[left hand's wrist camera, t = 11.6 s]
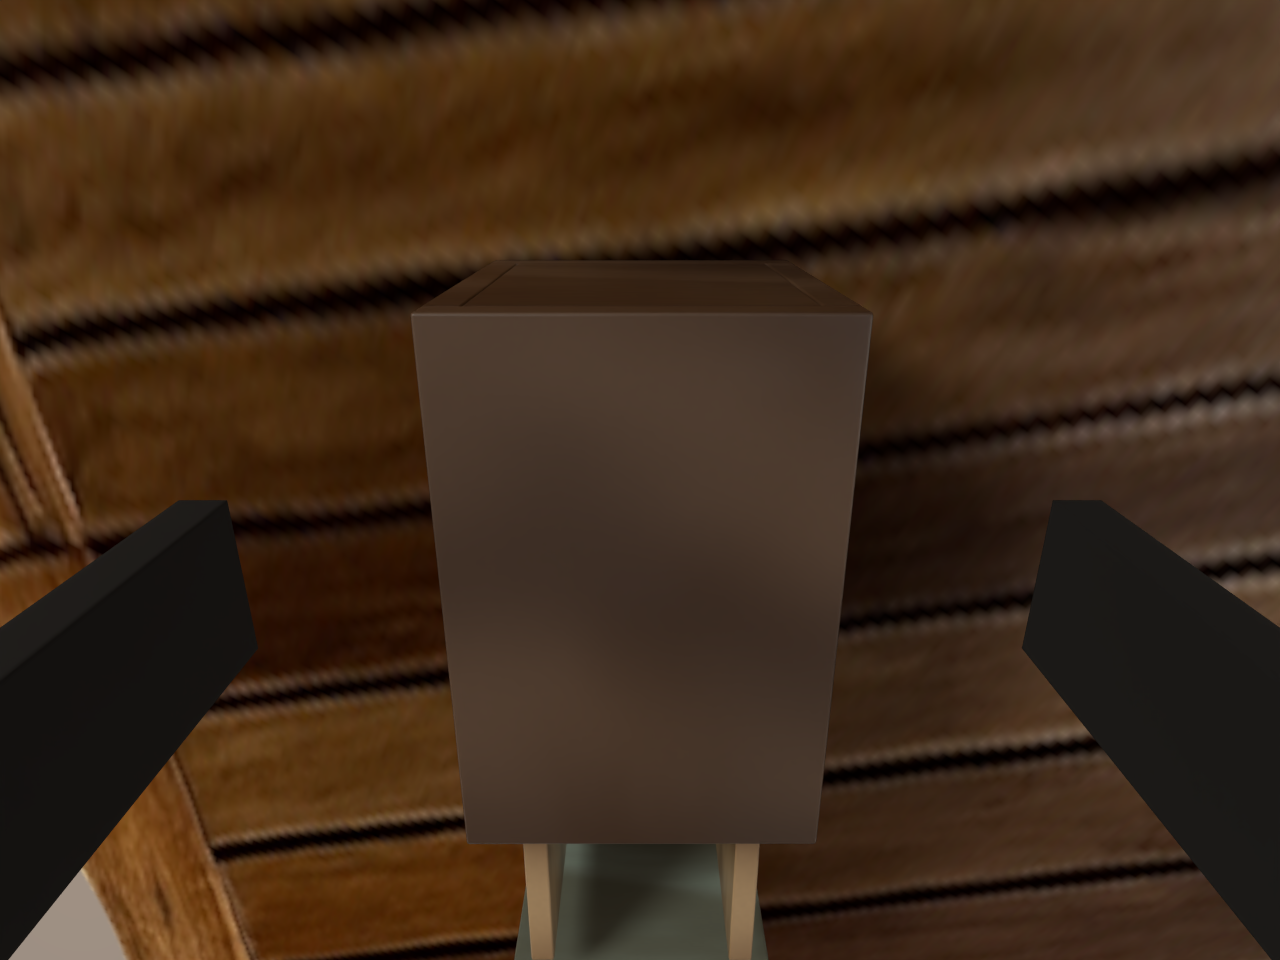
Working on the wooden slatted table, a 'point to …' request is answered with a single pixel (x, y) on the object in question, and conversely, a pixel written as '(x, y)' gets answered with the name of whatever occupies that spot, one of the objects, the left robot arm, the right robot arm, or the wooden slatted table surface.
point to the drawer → (641, 902)
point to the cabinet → (641, 542)
